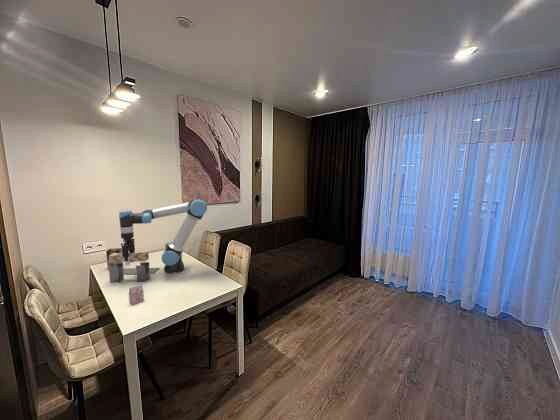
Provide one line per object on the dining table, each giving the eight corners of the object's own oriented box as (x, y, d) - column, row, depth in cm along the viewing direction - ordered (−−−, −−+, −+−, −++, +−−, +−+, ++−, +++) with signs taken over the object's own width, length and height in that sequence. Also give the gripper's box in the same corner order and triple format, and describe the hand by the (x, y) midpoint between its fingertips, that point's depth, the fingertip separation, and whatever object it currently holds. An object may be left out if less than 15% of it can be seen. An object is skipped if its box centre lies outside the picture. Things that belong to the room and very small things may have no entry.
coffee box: (107, 270, 181) (105, 251, 179) (110, 267, 187) (108, 248, 185) (120, 269, 184) (119, 250, 181) (123, 266, 190) (121, 247, 187)
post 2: (150, 277, 170) (149, 262, 168) (145, 282, 163) (144, 265, 161) (141, 278, 169) (140, 262, 167) (136, 282, 162) (135, 266, 160)
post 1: (124, 278, 168) (123, 262, 166) (118, 283, 160) (117, 266, 159) (115, 278, 167) (114, 262, 165) (109, 283, 160) (108, 266, 158)
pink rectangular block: (129, 302, 136) (128, 287, 135) (141, 298, 142) (140, 283, 140) (131, 305, 134) (130, 289, 133) (144, 300, 139) (143, 285, 138)
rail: (148, 258, 167) (148, 252, 166) (145, 261, 162) (145, 254, 161) (113, 259, 164) (112, 253, 163) (109, 262, 159) (108, 255, 158)
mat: (159, 268, 188) (159, 267, 187) (153, 273, 177) (153, 273, 177) (120, 269, 183) (120, 268, 183) (112, 275, 173) (112, 274, 173)
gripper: (128, 229, 168) (130, 259, 171) (113, 235, 150) (116, 268, 154) (138, 229, 169) (141, 258, 172) (126, 235, 151) (128, 268, 155)
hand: (129, 263), depth 163 cm, fingers closed on rail, 5 cm apart
